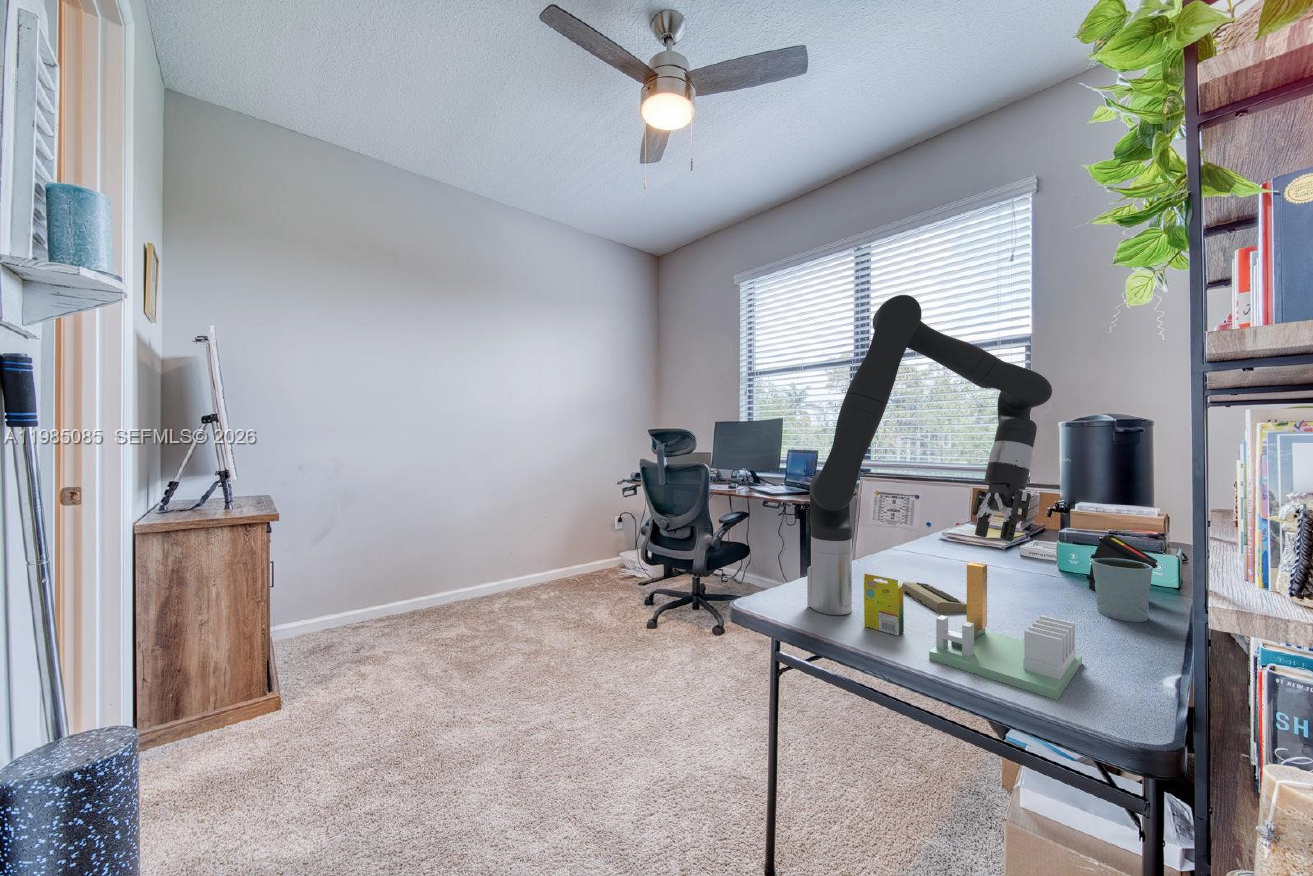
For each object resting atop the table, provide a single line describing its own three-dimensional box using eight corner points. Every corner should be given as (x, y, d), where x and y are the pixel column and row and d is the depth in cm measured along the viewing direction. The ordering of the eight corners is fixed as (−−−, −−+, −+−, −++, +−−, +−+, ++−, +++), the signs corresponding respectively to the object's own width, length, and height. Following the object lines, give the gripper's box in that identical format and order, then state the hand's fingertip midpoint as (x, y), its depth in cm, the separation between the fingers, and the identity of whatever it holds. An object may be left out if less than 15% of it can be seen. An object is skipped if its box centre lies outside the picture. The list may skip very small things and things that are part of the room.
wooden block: (949, 645, 96) (949, 572, 96) (971, 628, 104) (971, 561, 104) (966, 650, 94) (966, 575, 94) (987, 632, 102) (987, 564, 101)
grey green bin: (1165, 623, 110) (1165, 568, 110) (1119, 623, 110) (1120, 569, 110) (1121, 607, 120) (1122, 557, 120) (1080, 607, 120) (1080, 557, 120)
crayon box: (904, 632, 106) (904, 577, 106) (898, 636, 104) (898, 580, 104) (869, 623, 111) (869, 570, 111) (863, 626, 109) (863, 573, 109)
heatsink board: (929, 659, 94) (929, 616, 93) (965, 632, 106) (965, 594, 106) (1057, 700, 79) (1057, 649, 79) (1081, 663, 92) (1082, 619, 91)
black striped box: (1083, 578, 138) (1111, 533, 132) (1135, 613, 127) (1169, 566, 121) (1073, 579, 137) (1101, 534, 131) (1126, 615, 126) (1159, 567, 120)
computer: (970, 614, 118) (970, 600, 117) (937, 615, 117) (937, 601, 117) (930, 592, 133) (930, 580, 133) (901, 593, 133) (901, 580, 133)
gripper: (971, 462, 116) (956, 530, 114) (1013, 458, 102) (996, 536, 100) (1004, 471, 115) (989, 540, 114) (1051, 468, 101) (1034, 547, 100)
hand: (992, 538), depth 107 cm, fingers open, 8 cm apart
